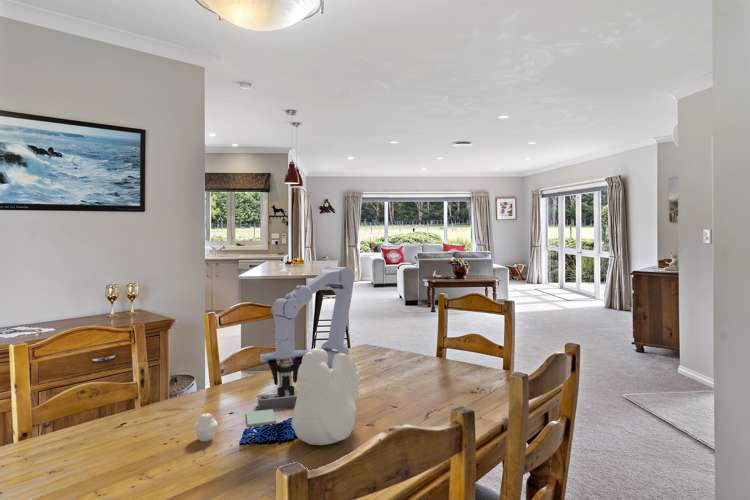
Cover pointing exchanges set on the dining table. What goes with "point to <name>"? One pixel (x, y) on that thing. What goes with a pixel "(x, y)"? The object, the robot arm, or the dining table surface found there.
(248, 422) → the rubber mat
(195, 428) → the grey rounded lump
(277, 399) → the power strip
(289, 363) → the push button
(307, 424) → the white rounded upright lump
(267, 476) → the dining table surface
